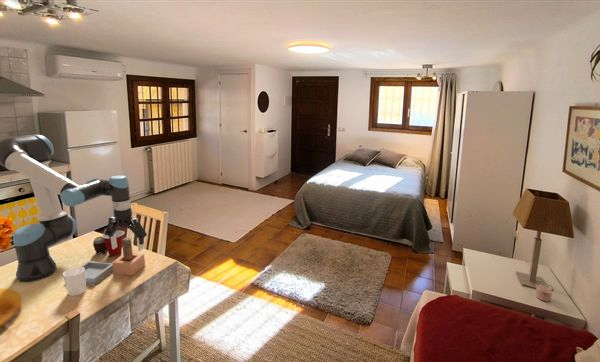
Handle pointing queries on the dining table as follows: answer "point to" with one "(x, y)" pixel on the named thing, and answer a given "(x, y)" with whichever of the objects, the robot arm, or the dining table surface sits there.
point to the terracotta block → (128, 264)
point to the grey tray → (96, 271)
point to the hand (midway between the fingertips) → (127, 249)
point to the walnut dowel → (127, 249)
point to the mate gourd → (99, 245)
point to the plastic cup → (108, 244)
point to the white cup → (75, 280)
